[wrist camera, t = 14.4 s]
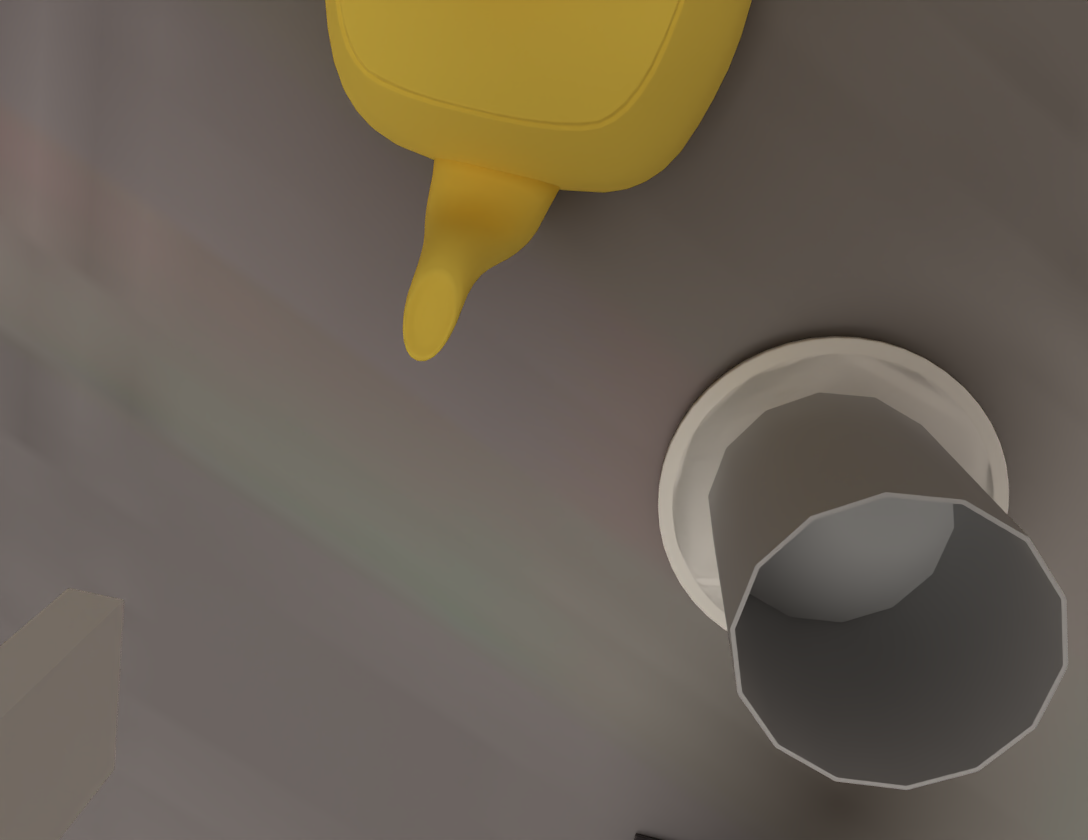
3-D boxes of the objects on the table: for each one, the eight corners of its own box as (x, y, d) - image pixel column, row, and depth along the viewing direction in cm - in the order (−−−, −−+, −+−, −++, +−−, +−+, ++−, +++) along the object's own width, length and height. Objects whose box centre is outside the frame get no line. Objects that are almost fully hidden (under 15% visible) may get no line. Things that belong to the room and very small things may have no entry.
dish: (706, 296, 35) (708, 301, 33) (1047, 378, 34) (1061, 386, 33) (623, 600, 38) (622, 615, 37) (932, 678, 38) (941, 695, 36)
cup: (1003, 473, 34) (1142, 604, 24) (862, 655, 36) (938, 840, 27) (792, 348, 34) (849, 432, 24) (663, 541, 36) (669, 687, 26)
